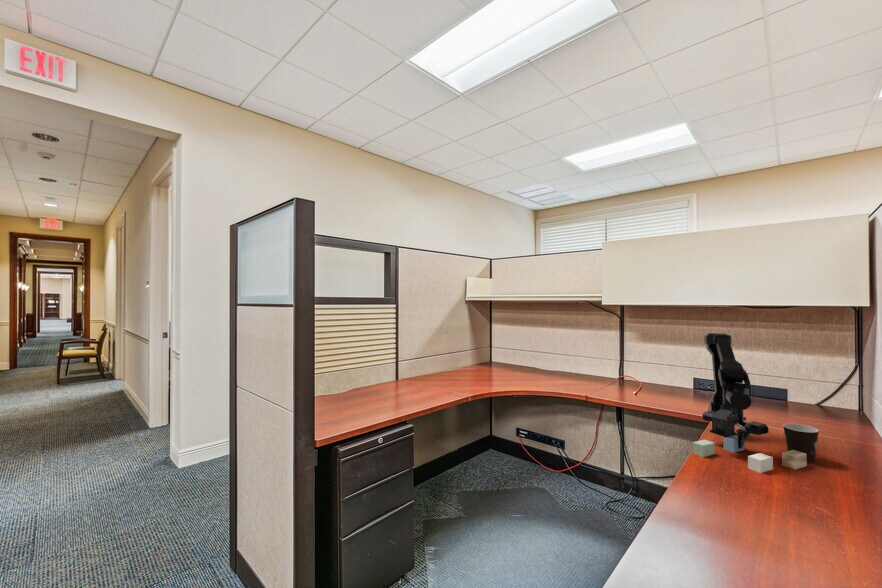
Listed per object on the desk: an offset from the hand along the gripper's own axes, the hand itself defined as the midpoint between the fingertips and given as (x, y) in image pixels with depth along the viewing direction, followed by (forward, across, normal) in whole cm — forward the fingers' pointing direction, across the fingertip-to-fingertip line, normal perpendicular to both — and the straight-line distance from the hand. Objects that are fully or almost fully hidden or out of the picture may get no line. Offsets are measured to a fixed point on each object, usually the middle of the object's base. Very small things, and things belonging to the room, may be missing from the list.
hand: (734, 446), depth 138 cm
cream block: (+1, +13, -9) cm, 16 cm away
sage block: (+1, -2, -13) cm, 13 cm away
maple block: (+1, +16, +3) cm, 16 cm away
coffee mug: (+1, +14, +13) cm, 19 cm away
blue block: (+1, 0, 0) cm, 1 cm away
